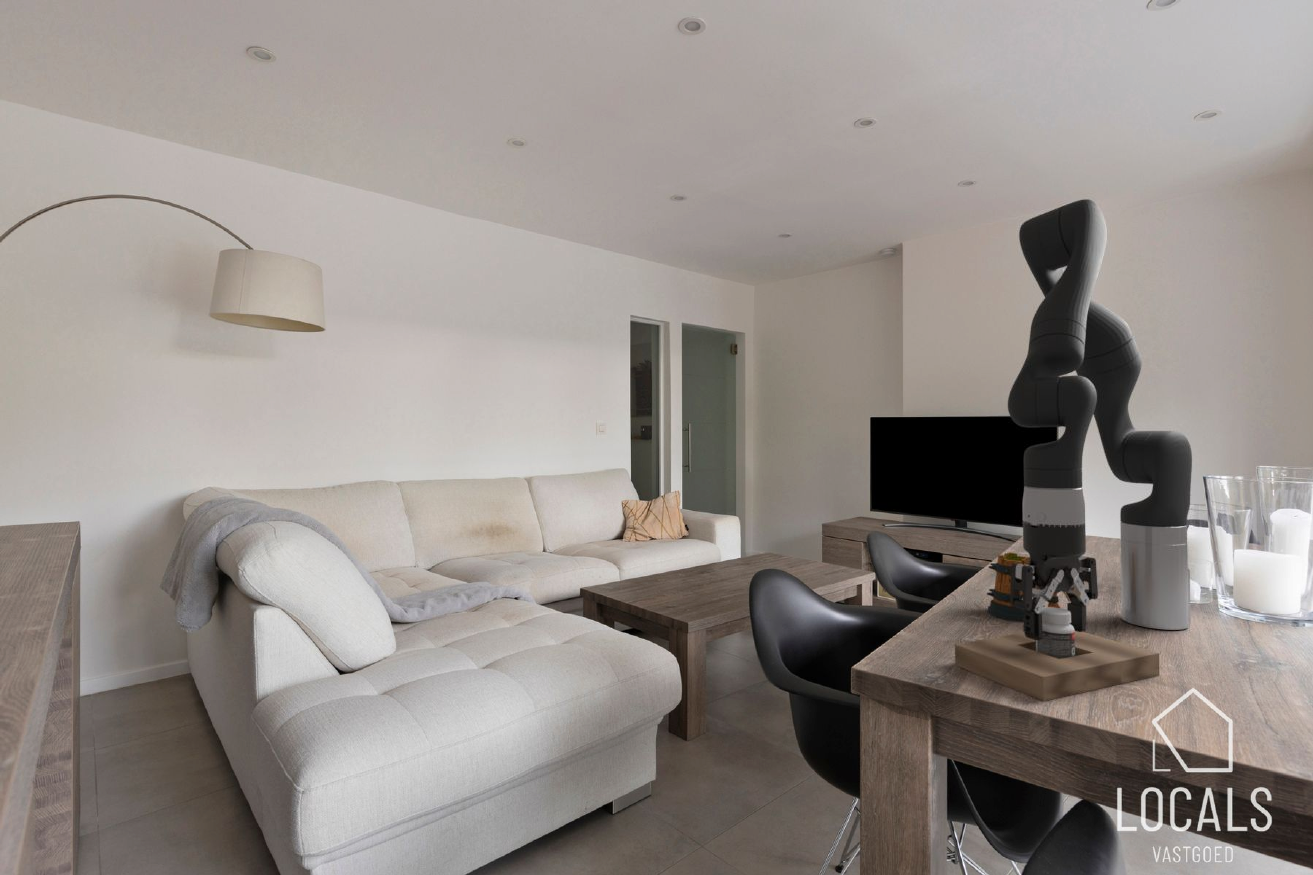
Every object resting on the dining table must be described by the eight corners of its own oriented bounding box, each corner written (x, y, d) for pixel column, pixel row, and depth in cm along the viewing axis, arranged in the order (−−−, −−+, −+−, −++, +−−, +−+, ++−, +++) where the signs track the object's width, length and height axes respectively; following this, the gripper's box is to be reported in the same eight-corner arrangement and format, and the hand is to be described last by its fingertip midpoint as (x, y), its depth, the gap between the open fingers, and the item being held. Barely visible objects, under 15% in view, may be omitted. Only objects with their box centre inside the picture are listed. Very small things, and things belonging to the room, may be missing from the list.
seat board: (1063, 645, 103) (1062, 625, 102) (1159, 675, 89) (1159, 653, 89) (955, 664, 95) (954, 644, 95) (1043, 701, 82) (1043, 676, 81)
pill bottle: (1081, 676, 89) (1080, 615, 89) (1043, 674, 90) (1042, 614, 90) (1067, 664, 94) (1066, 606, 94) (1030, 663, 95) (1030, 605, 95)
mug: (975, 613, 121) (974, 551, 121) (1002, 604, 127) (1001, 545, 127) (1052, 629, 111) (1051, 561, 111) (1077, 618, 117) (1076, 554, 117)
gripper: (1063, 513, 98) (1065, 621, 98) (993, 519, 93) (995, 633, 93) (1114, 518, 91) (1116, 635, 91) (1041, 526, 86) (1043, 649, 86)
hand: (1055, 634), depth 92 cm, fingers open, 8 cm apart
